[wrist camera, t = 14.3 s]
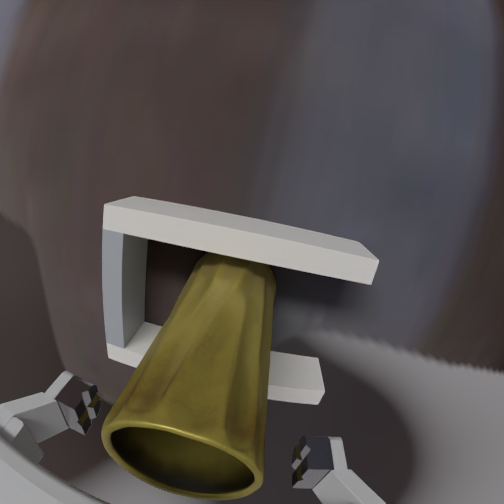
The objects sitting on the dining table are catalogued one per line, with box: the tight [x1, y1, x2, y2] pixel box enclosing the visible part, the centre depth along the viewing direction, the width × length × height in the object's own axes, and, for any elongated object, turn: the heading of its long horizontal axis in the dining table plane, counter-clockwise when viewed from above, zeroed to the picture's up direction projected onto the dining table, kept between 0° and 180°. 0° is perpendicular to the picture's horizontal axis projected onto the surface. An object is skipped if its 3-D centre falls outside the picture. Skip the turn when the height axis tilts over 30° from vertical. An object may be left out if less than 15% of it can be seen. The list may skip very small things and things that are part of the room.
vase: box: [102, 252, 276, 500], centre depth 13 cm, size 6×6×14 cm
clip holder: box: [102, 196, 379, 405], centre depth 18 cm, size 16×12×4 cm
